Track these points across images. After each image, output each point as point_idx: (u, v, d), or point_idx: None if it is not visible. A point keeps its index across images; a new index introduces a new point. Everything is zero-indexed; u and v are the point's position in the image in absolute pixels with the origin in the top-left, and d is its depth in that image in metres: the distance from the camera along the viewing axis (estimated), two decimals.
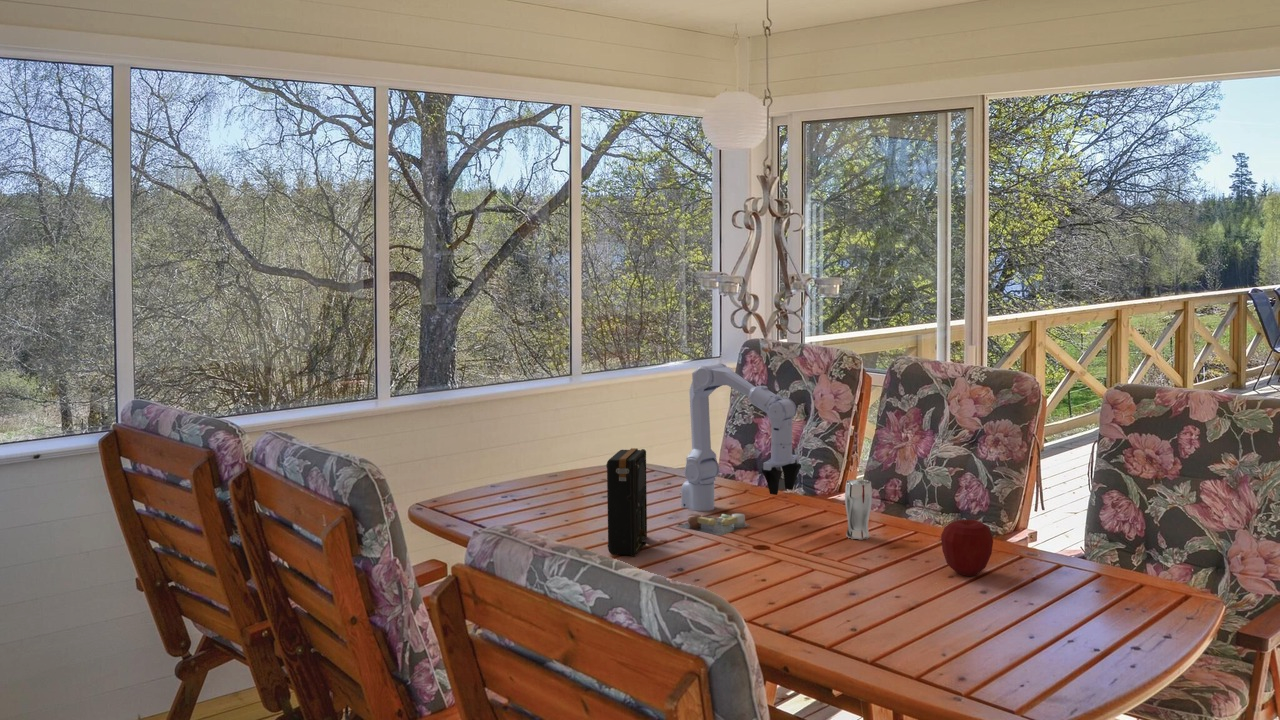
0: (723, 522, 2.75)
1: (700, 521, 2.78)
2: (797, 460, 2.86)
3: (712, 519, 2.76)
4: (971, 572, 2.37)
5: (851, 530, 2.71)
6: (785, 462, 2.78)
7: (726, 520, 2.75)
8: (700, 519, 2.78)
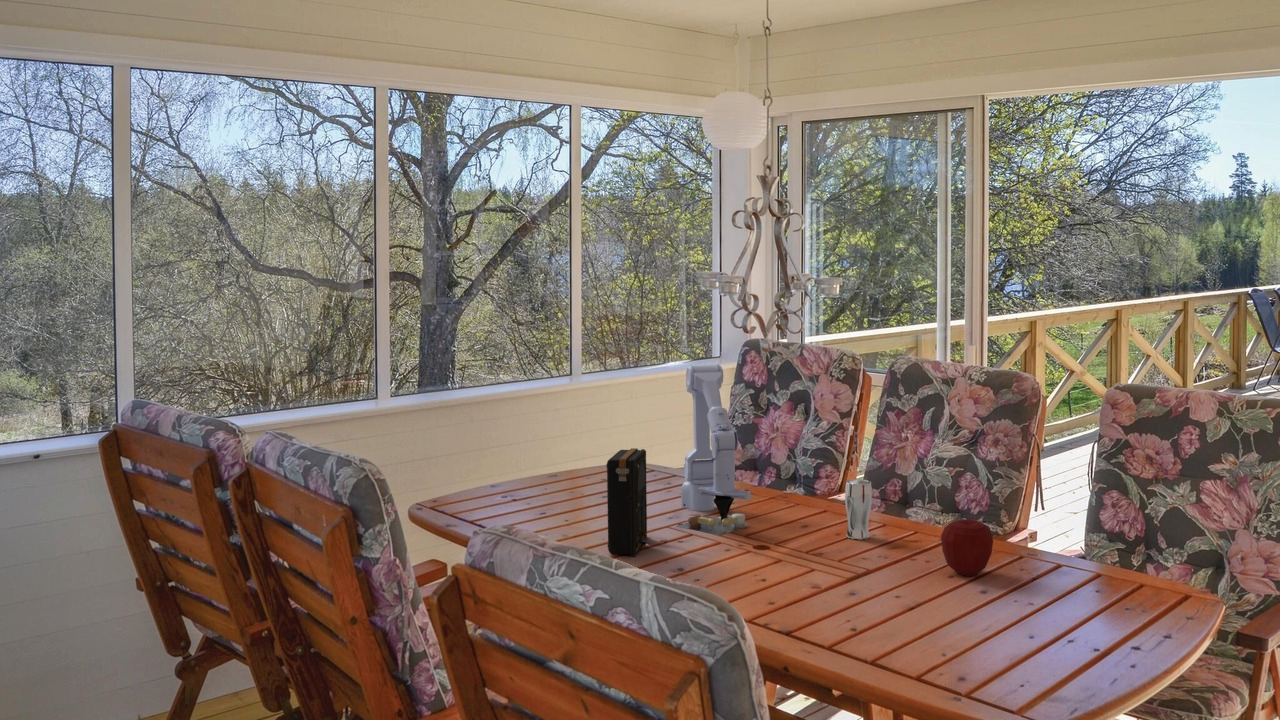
0: (723, 522, 2.75)
1: (700, 521, 2.78)
2: (745, 497, 2.74)
3: (712, 519, 2.76)
4: (971, 572, 2.37)
5: (851, 530, 2.71)
6: (714, 492, 2.76)
7: (726, 520, 2.75)
8: (700, 519, 2.78)
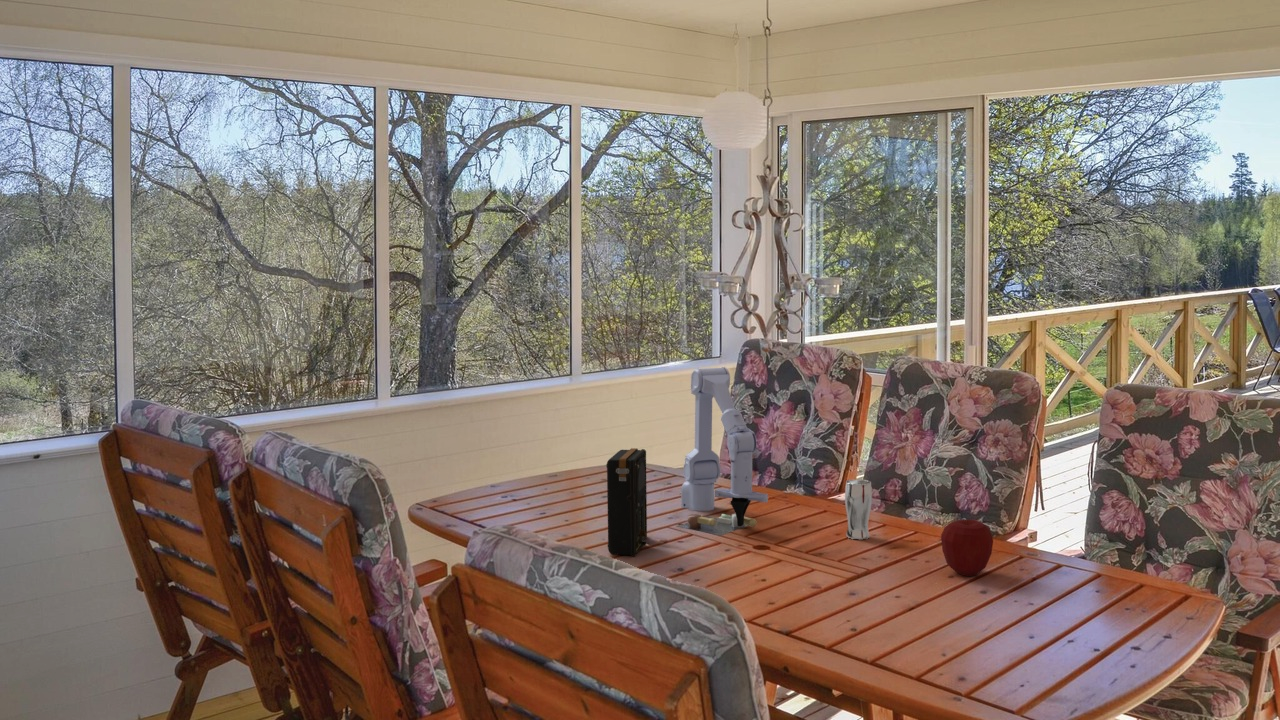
0: (755, 522, 2.75)
1: (700, 521, 2.78)
2: (762, 500, 2.72)
3: (712, 519, 2.76)
4: (971, 572, 2.37)
5: (851, 530, 2.71)
6: (731, 494, 2.74)
7: None
8: (700, 519, 2.78)
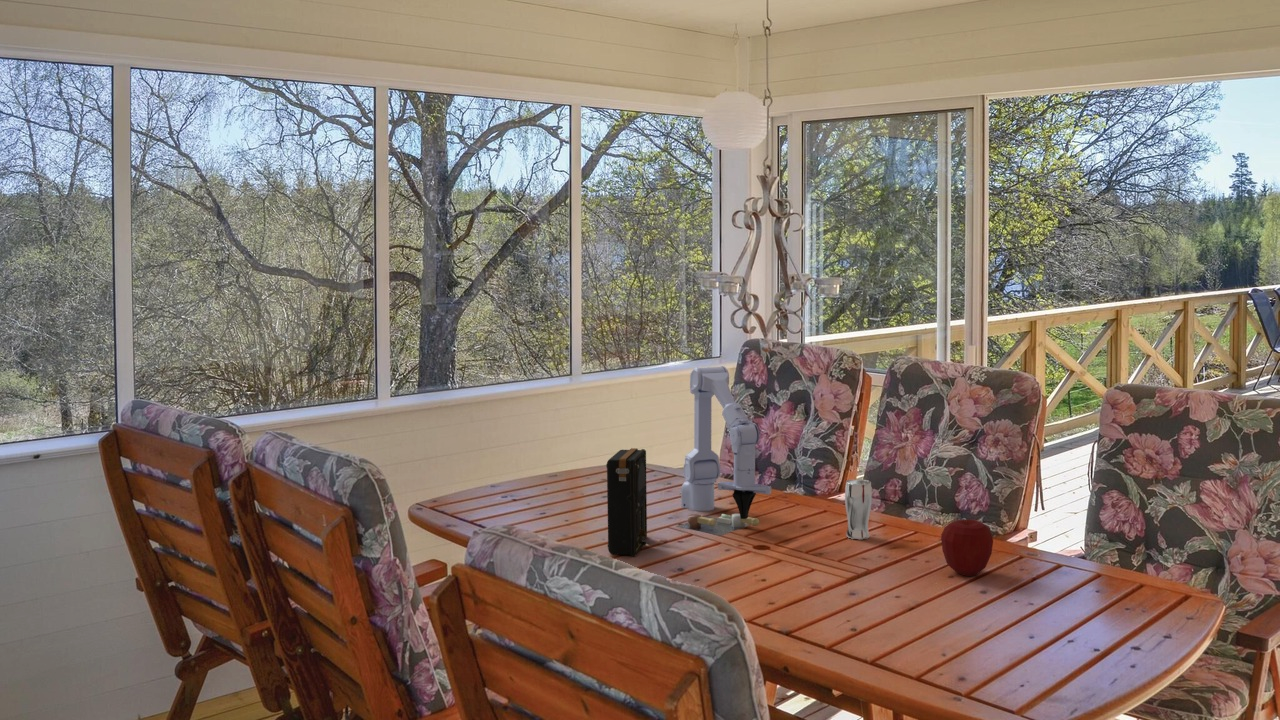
0: (758, 521, 2.76)
1: (700, 521, 2.78)
2: (766, 492, 2.71)
3: (712, 519, 2.76)
4: (971, 572, 2.37)
5: (851, 530, 2.71)
6: (734, 487, 2.74)
7: (757, 519, 2.76)
8: (700, 519, 2.78)
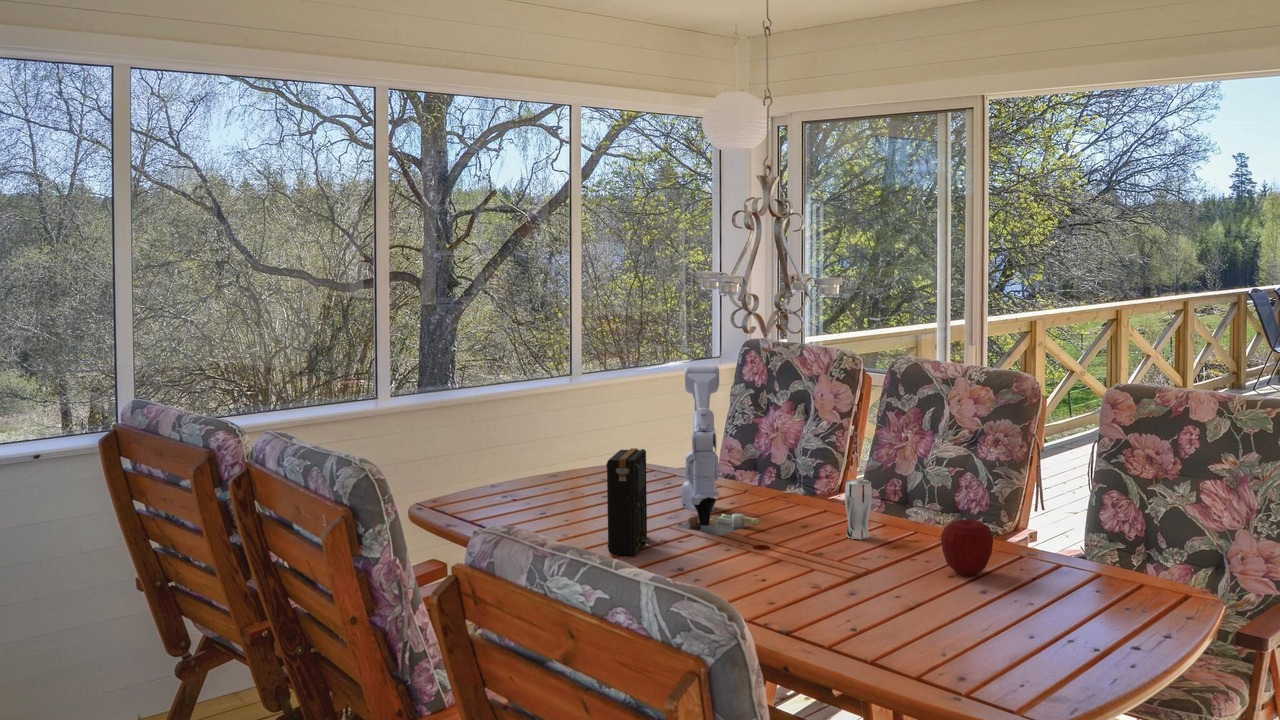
0: (758, 521, 2.76)
1: None
2: (715, 491, 2.81)
3: (712, 519, 2.76)
4: (971, 572, 2.37)
5: (851, 530, 2.71)
6: (710, 495, 2.73)
7: (758, 519, 2.77)
8: None
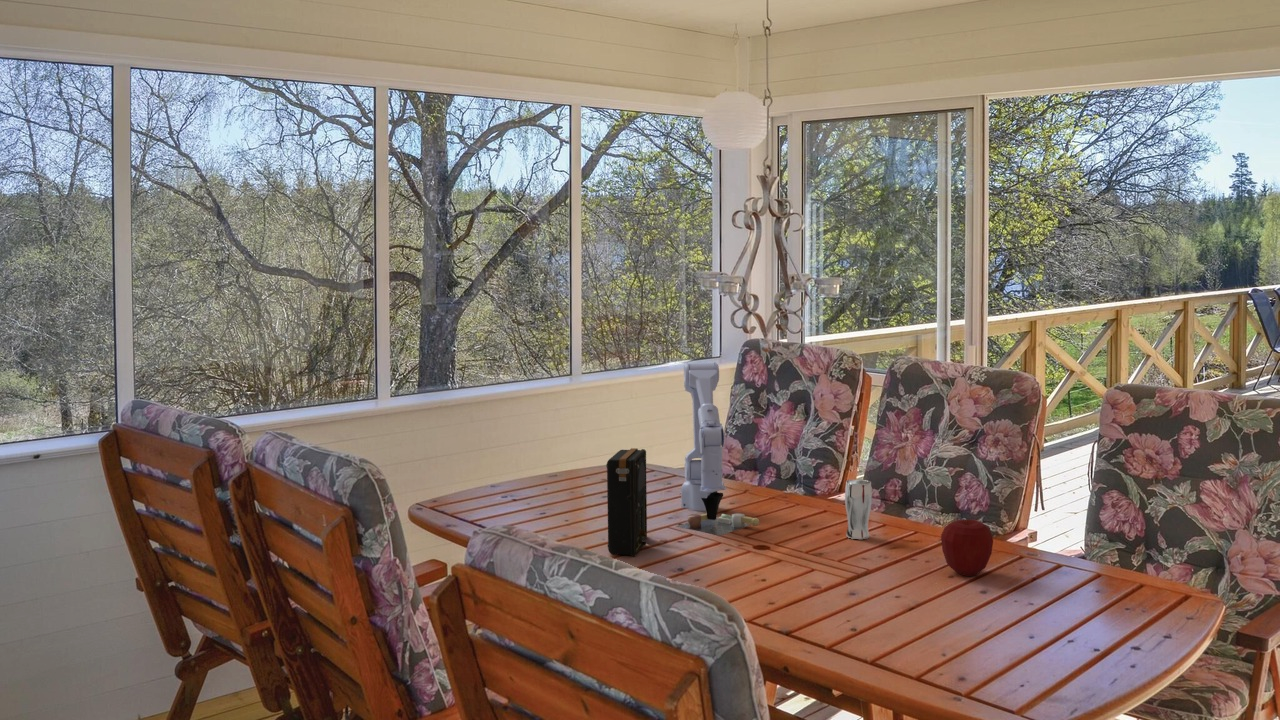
0: (758, 521, 2.76)
1: (704, 518, 2.81)
2: None
3: None
4: (971, 572, 2.37)
5: (851, 530, 2.71)
6: (718, 489, 2.78)
7: (758, 519, 2.77)
8: (704, 516, 2.81)
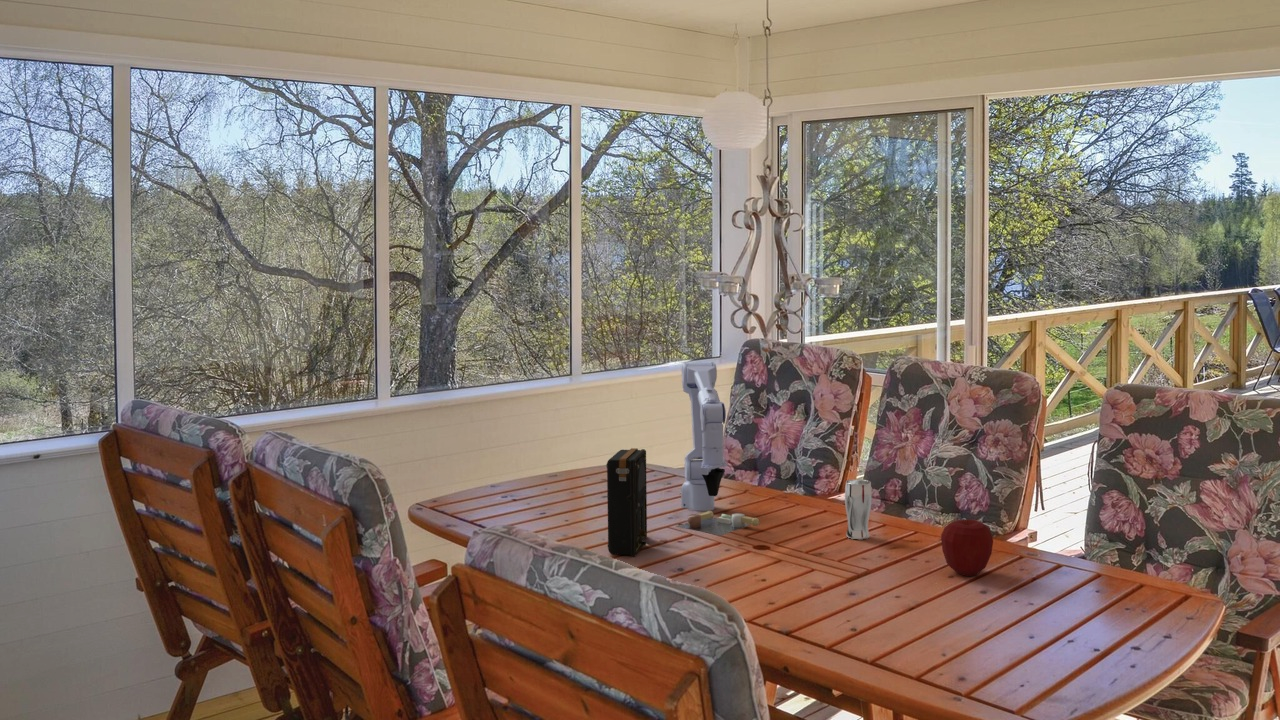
0: (758, 521, 2.76)
1: (703, 518, 2.82)
2: (724, 463, 2.86)
3: (711, 511, 2.84)
4: (971, 572, 2.37)
5: (851, 530, 2.71)
6: (719, 465, 2.78)
7: (758, 519, 2.77)
8: (703, 516, 2.82)
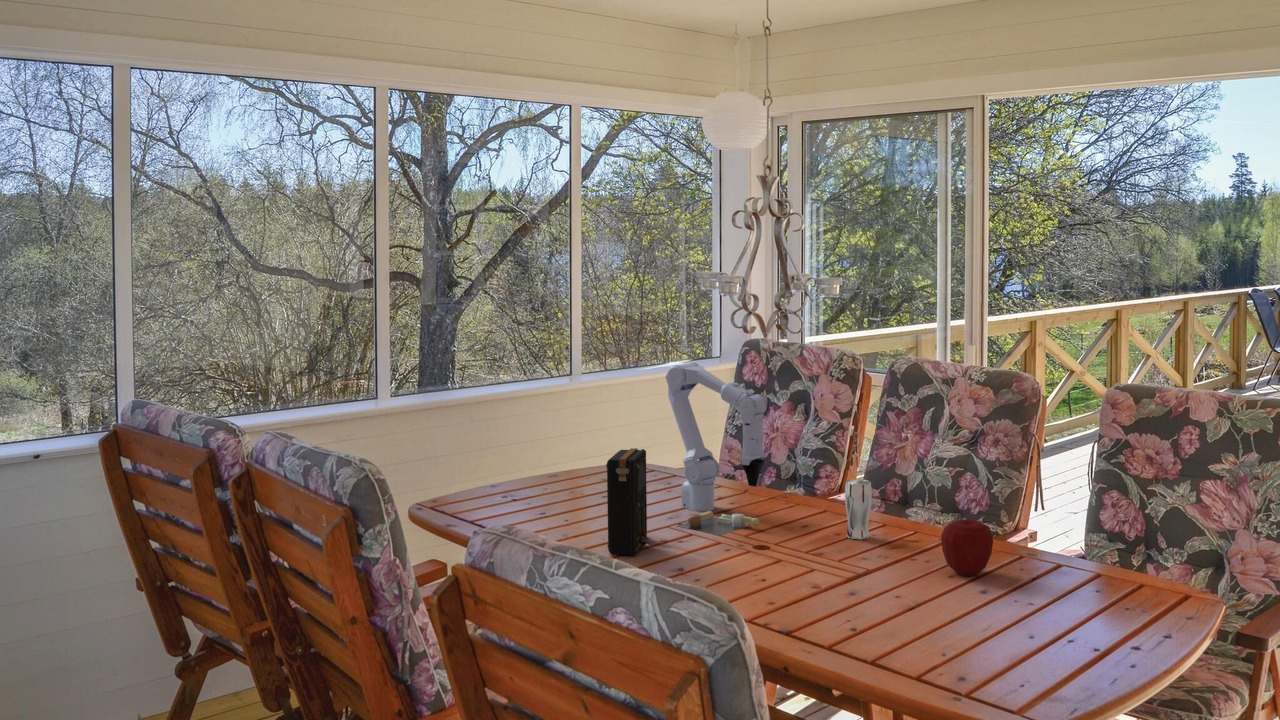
0: (758, 521, 2.76)
1: (703, 518, 2.82)
2: None
3: (711, 511, 2.85)
4: (971, 572, 2.37)
5: (851, 530, 2.71)
6: (759, 456, 2.85)
7: (758, 519, 2.77)
8: (703, 516, 2.82)
